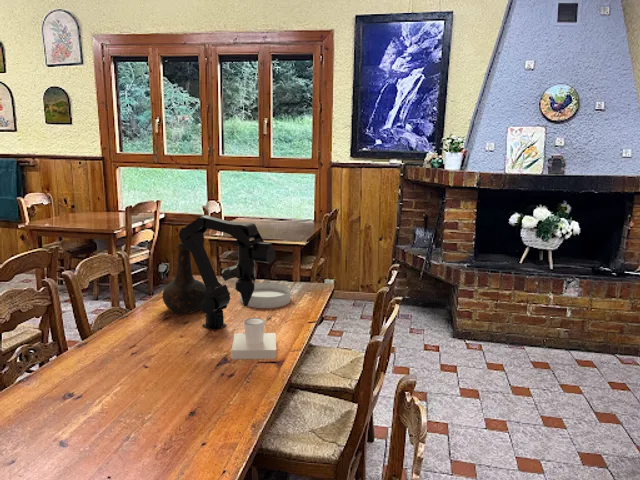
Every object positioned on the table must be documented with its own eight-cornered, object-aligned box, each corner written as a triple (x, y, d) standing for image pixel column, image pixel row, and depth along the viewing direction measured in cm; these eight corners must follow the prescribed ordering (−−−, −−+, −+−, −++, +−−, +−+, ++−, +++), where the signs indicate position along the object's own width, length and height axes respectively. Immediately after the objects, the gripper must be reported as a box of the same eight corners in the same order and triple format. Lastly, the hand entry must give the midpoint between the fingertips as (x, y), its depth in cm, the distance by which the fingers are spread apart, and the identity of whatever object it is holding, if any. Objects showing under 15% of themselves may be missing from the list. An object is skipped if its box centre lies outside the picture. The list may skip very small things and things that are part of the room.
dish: (230, 304, 204) (230, 293, 203) (252, 290, 225) (252, 280, 224) (279, 311, 198) (279, 299, 197) (297, 296, 218) (297, 285, 217)
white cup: (261, 346, 155) (261, 326, 154) (241, 344, 156) (241, 323, 155) (267, 338, 162) (267, 318, 160) (247, 336, 163) (247, 316, 162)
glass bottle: (184, 321, 183) (183, 249, 177) (153, 311, 192) (150, 242, 186) (217, 308, 198) (217, 242, 192) (186, 300, 207) (185, 236, 201)
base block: (231, 359, 152) (231, 350, 152) (234, 341, 166) (234, 333, 165) (275, 358, 154) (276, 350, 153) (275, 341, 167) (275, 333, 167)
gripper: (225, 253, 175) (225, 294, 178) (220, 265, 157) (220, 311, 160) (256, 253, 176) (255, 294, 180) (254, 266, 158) (254, 311, 161)
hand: (246, 302), depth 170 cm, fingers open, 9 cm apart
